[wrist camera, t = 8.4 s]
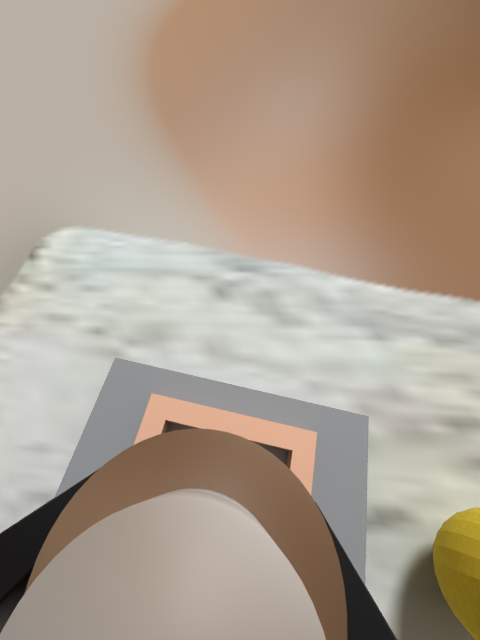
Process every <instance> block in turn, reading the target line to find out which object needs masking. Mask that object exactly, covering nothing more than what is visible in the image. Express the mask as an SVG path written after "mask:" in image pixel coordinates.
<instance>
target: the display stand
mask: <svg viewBox="0 0 480 640" xmlns="http://www.w3.org/2000/svg"><path fill="white" fill-rule="evenodd" d="M192 428H193V429H213V430H219V431H224V432H228V433H232V434H235V435H238V436H241V437H244V438H246V439H248V440H250V441H252V442H254V443H256V444H258V445H260V446H261V447H263V448H264V449H266V450H267V451H269V452H270V453H272V454H273V455H275V456H276V457H277V458H278V459H279V460H280V461H282V462H283V463H284V464H285V465H286V466H287V467H288V468H289V469H290V470H291V471H292V472H293V473H294V474H295V475H296V476H297V478H298V479H299V480H300V481H301V482H302V484H303V485H304V486H305V488H306V489H307V491H308V492H309V493H310V495H311V496H312V498H313V500H314V501H315V502H316V503H317V505H318V506H319V508H320V510H321V511H322V513H323V515H324V516H325V518H326V520H327V522H328V523H329V525H330V527H331V528H332V530H333V532H334V533H335V535H336V537H337V539H338V540H339V542H340V544H341V545H342V547H343V549H344V550H345V552H346V554H347V555H348V557H349V559H350V561H351V562H352V564H353V566H354V567H355V569H356V571H357V572H358V574H359V576H360V578H361V579H362V581H363V583H364V584H365V558H366V511H367V463H368V416H365V415H360V414H356V413H352V412H347V411H343V410H339V409H334V408H330V407H326V406H321V405H317V404H313V403H308V402H304V401H300V400H296V399H291V398H287V397H283V396H278V395H274V394H270V393H265V392H261V391H257V390H252V389H248V388H244V387H239V386H235V385H231V384H226V383H222V382H218V381H214V380H209V379H205V378H201V377H196V376H192V375H188V374H183V373H179V372H175V371H170V370H166V369H162V368H157V367H153V366H149V365H144V364H140V363H136V362H132V361H127V360H123V359H119V358H115V360H114V362H113V364H112V366H111V369H110V371H109V373H108V376H107V378H106V380H105V383H104V385H103V387H102V389H101V392H100V394H99V396H98V399H97V401H96V403H95V406H94V408H93V410H92V413H91V415H90V417H89V419H88V422H87V424H86V426H85V429H84V431H83V433H82V436H81V438H80V440H79V443H78V445H77V447H76V449H75V452H74V454H73V456H72V459H71V461H70V463H69V466H68V468H67V470H66V473H65V475H64V477H63V479H62V482H61V484H60V486H59V489H58V491H57V493H56V496H58V495H60V494H61V493H63V492H64V491H66V490H67V489H69V488H70V487H72V486H73V485H75V484H76V483H78V482H79V481H81V480H82V479H84V478H85V477H87V476H89V475H90V474H92V473H93V472H95V471H96V470H98V469H99V468H101V467H102V466H103V465H104V464H106V463H107V462H108V461H109V460H111V459H112V458H114V457H115V456H117V455H118V454H119V453H121V452H122V451H124V450H126V449H127V448H129V447H131V446H133V445H135V444H137V443H139V442H141V441H143V440H145V439H148V438H151V437H153V436H156V435H159V434H163V433H167V432H171V431H175V430H183V429H192ZM56 496H55V497H56Z"/></svg>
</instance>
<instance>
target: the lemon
mask: <svg viewBox="0 0 480 640" xmlns="http://www.w3.org/2000/svg"><path fill="white" fill-rule="evenodd" d="M433 563H434V570H435V575H436V578H437V581H438V583H439V586H440V589H441V592H442V594H443V596H444V598H445V600H446V601H447V603H448V605H449V607H450V609H451V610H452V612H453V614H454V615H455V616H456V618H457V619H458V620H459V621H460V623H461V624H462V625H463V626H464V627H465V629H466V630H467V631H468V632H469V634H470V635H471V636H472V637H473V638H474V639H475V640H480V508H472V509H469V510H465V511H462V512H459V513H456V514H455V515H453V516H452V517H451V518H449V519H448V520H446V521H445V522H444V523H443V525H442V527H441V528H440V530H439V531H438V533H437V535H436V539H435V542H434V546H433Z"/></svg>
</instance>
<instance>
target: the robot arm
mask: <svg viewBox="0 0 480 640" xmlns="http://www.w3.org/2000/svg"><path fill="white" fill-rule="evenodd" d="M99 469H100V468H99ZM99 469H98V470H99ZM98 470H96V471H98ZM96 471H95V472H96ZM95 472H93V473H92V474H90V475H89V476H87V477H85V478H84V479H82V480H81V481H79V482H78V483H76V484H75V485H73V486H72V487H70V488H69V489H67V490H66V491H64V492H63V493H61V494H60V495H58V496H56V497H55V498H53V499H52V500H50V501H49V502H47V503H46V504H44V505H43V506H41V507H40V508H38V509H37V510H35V511H34V512H32V513H31V514H29V515H28V516H26V517H24V518H23V519H21V520H20V521H18V522H17V523H15V524H14V525H12V526H11V527H9V528H8V529H6V530H5V531H3V532H2V533H0V633H1V631H2V629H3V628H4V626H5V624H6V623H7V621H8V619H9V618H10V616H11V614H12V613H13V611H14V609H15V608H16V606H17V604H18V602H19V601H20V600H21V598H22V597H23V596H24V594H25V591H26V588H27V584H28V581H29V578H30V575H31V573H32V570H33V567H34V565H35V562H36V559H37V557H38V554H39V552H40V550H41V548H42V546H43V544H44V542H45V540H46V538H47V536H48V534H49V532H50V530H51V529H52V527H53V525H54V524H55V522H56V520H57V519H58V517H59V515H60V514H61V512H62V511H63V509H64V508H65V507H66V505H67V504H68V503H69V501H70V500H71V499H72V497H73V496H74V495H75V493H76V492H77V491H78V490H79V489H80V488H81V487H82V486H83V485H84V483H85V482H86V481H87V480H88V479H89V478H90V477H91V476H92V475H93V474H94V473H95ZM315 503H316V502H315ZM316 505H317V503H316ZM317 507H318V508H319V506H318V505H317ZM319 510H320V508H319ZM320 512H321V514H322V515H323V513H322V511H321V510H320ZM323 518H324V520H325V522H326V525H327V527H328V529H329V532H330V534H331V536H332V539H333V543H334V546H335V549H336V552H337V555H338V559H339V563H340V568H341V572H342V577H343V582H344V589H345V598H346V607H347V640H397V639H396V637H395V635H394V634H393V632H392V630H391V629H390V627H389V625H388V623H387V622H386V620H385V618H384V617H383V615H382V613H381V612H380V610H379V608H378V606H377V605H376V603H375V601H374V600H373V598H372V596H371V595H370V593H369V591H368V589H367V588H366V586H365V584H364V583H363V581H362V579H361V578H360V576H359V574H358V572H357V571H356V569H355V567H354V566H353V564H352V562H351V561H350V559H349V557H348V555H347V554H346V552H345V550H344V549H343V547H342V545H341V544H340V542H339V540H338V539H337V537H336V535H335V533H334V532H333V530H332V528H331V527H330V525H329V523H328V522H327V520H326V518H325V516H324V515H323Z"/></svg>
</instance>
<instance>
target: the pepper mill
mask: <svg viewBox="0 0 480 640" xmlns="http://www.w3.org/2000/svg"><path fill="white" fill-rule="evenodd" d="M0 640H347V607H346V598H345V589H344V582H343V577H342V572H341V568H340V563H339V559H338V555H337V552H336V549H335V546H334V543H333V539H332V536H331V534H330V532H329V529H328V527H327V525H326V522H325V520H324V518H323V515H322V514H321V512H320V510H319V508H318V507H317V505H316V503H315V501H314V500H313V498H312V496H311V495H310V493H309V492H308V491H307V489H306V488H305V486H304V485H303V484H302V482H301V481H300V480H299V479H298V478H297V476H296V475H295V474H294V473H293V472H292V471H291V470H290V469H289V468H288V467H287V466H286V465H285V464H284V463H283V462H282V461H280V460H279V459H278V458H277V457H276V456H275V455H273V454H272V453H270V452H269V451H267V450H266V449H264V448H263V447H261V446H260V445H258V444H256V443H254V442H252V441H250V440H248V439H246V438H244V437H241V436H238V435H235V434H232V433H228V432H224V431H219V430H213V429H193V428H192V429H183V430H175V431H171V432H167V433H163V434H159V435H156V436H153V437H151V438H148V439H145V440H143V441H141V442H139V443H137V444H135V445H133V446H131V447H129V448H127V449H126V450H124V451H122V452H121V453H119V454H118V455H117V456H115V457H114V458H112V459H111V460H109V461H108V462H107V463H106V464H104V465H103V466H102V467H101V468H100V469H99V470H98V471H96V472H95V473H94V474H93V475H92V476H91V477H90V478H89V479H88V480H87V481H86V482H85V483H84V485H83V486H82V487H81V488H80V489H79V490H78V491H77V492H76V493H75V495H74V496H73V497H72V499H71V500H70V501H69V503H68V504H67V505H66V507H65V508H64V509H63V511H62V512H61V514H60V515H59V517H58V519H57V520H56V522H55V524H54V525H53V527H52V529H51V530H50V532H49V534H48V536H47V538H46V540H45V542H44V544H43V546H42V548H41V550H40V552H39V554H38V557H37V559H36V562H35V565H34V567H33V570H32V573H31V575H30V578H29V581H28V584H27V588H26V591H25V594H24V596H23V597H22V598H21V600H20V601H19V602H18V604H17V606H16V608H15V609H14V611H13V613H12V614H11V616H10V618H9V619H8V621H7V623H6V624H5V626H4V628H3V629H2V631H1V633H0Z"/></svg>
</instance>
